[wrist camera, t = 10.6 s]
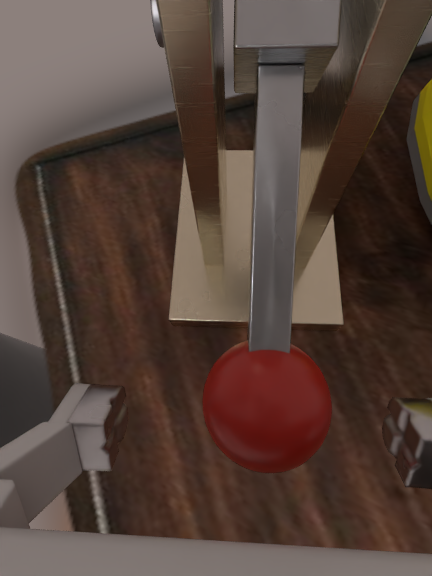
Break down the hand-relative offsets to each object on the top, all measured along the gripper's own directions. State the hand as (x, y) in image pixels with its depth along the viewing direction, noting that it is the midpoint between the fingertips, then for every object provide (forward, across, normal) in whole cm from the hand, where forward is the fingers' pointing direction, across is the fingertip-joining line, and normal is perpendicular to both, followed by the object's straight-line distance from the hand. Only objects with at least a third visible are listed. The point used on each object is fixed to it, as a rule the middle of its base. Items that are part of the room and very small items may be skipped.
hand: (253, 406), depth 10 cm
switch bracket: (+10, 0, -3) cm, 10 cm away
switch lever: (+2, 0, -5) cm, 5 cm away
